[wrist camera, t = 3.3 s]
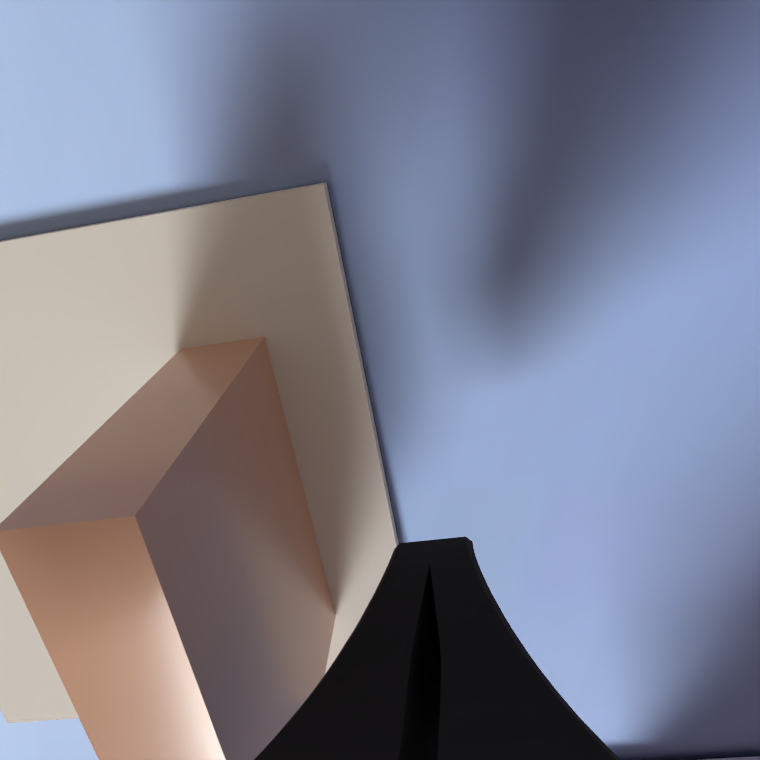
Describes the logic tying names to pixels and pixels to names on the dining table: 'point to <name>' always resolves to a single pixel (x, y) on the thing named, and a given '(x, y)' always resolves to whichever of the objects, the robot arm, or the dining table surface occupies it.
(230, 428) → the block
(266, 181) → the dining table surface
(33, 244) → the mat
